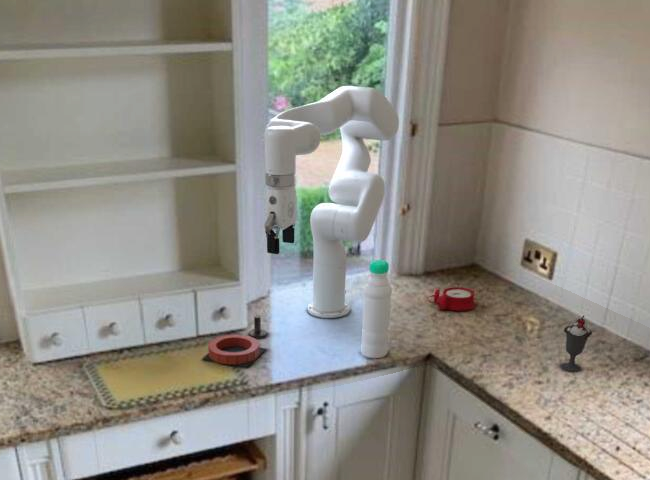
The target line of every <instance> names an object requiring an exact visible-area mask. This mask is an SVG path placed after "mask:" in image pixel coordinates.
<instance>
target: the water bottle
mask: <svg viewBox="0 0 650 480" xmlns="http://www.w3.org/2000/svg"><path fill="white" fill-rule="evenodd" d="M389 266H390V265H389V263H388V262H387V261H386V260H378V259H377V260H372V261H371V262H370V263H369V273H370V277H369V278H368V279H367V282H366V284H365V286H364V288H363V295H364V296H363V304H362V330H361V346H360V353H361V354H362V355H363V356H364V357H366V358H369V359H380V358H383V357H386V356H387V354H388V351H389V350H388V349H389V342H388V340H389V336H390V334H389V327H390V319H391V305H392V304H391V302H392V301H391V300H392V299H391V295H392V290H393V289H392V287H391V286H392V285H391V284H390V282H389V281H390V280H389V279H388V277H387V275H388V273H389V268H390V267H389Z"/></svg>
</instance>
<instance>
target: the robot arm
mask: <svg viewBox="0 0 650 480" xmlns="http://www.w3.org/2000/svg"><path fill="white" fill-rule="evenodd" d="M399 126H400V119H399V115H398V111H397V110H396V109H395V107H394V106H393V105H392V103H391V102H390V101H389V99H388V98H387V97H386V95H385V94H384V93H382V91H380V90H379V89H377V88H376V87H369V86H368V87H367V86H355V85H343V86H340V87H338V88H337V89H335V90H334V91H332V92H331V93H329V94H327V95H326V96H324V97H323V98H321V99H320V100H319V101H316V102H312V103H311V102H310V103H307V104H304V105H301V106H296V107H293V108H289V109H286V110H284V111H282V112H280V113H279V114H277V115H275V116H274V117H273V118H272V119H270V120H269V121H268V123H267V125H266V126H265V129H264V133H263V139H264V173H265V174H264V175H265V176H264V177H265V179H264V181H265V182H264V183H265V188H266V200H265V223H264V229H265V231H264V232H265V238H266V253H267V254H271V255H279V254H280V238H279V235H280V230H281V231H282V232H281V233H282V235H281V236H282V239H281V241H282V243H286V244H294V243H295V227H296V221H297V220H298V199H297V189H296V186H297V184H296V179H297V178H296V177H297V175H296V173H297V172H296V170H297V168H296V165H297V162H296V160H297V159H296V158H297V156H306V155H310V154H313V153H314V152H315V151H317V149H318V148H319V146H320V144H321V139H322V137H321V136H326V135H327V136H328V135H330V134H333V133H335V132H336V131H337V130H340V131H339V132H340V137H341V145H342V152H341V157H340V158H339V161H338V164H337V166H336V169H335V171H334V174H333V175H332V178H331V180H330V183H329V187H328V198H329V199H330V200H331V201H332V202H333V203H332V202H322V203H319V204H317V205H315V207H313V209H312V210H311V213H310V216H309V217H310V219H309V221H310V223H309V224H310V230H311V235H312V245H313V251H312V252H313V253H312V254H313V255H312V256H313V260H312V302H310V303H309V304H308V305H307V313H309V314H310V315H311V316H314V317H317V318H322V319H337V318H341V317H344V316H347V315H348V314H349V313H350V311H351V310H350V308H351V307H350V305H349V304H348V303H346V294H347V290H346V278H347V276H346V273H347V250H346V247H345V243H344V242H348V243H354V244H360V243H363V242H365V241H366V240H367V239H368V237H369V235H370V233H371V231H372V229H373V227H374V224H375V222H376V219H377V217H378V215H379V212H380V210H381V207H382V204H383V201H384V198H385V193H386V185H385V184H386V183H385V180H384V178H383V177H382V176H381V175H379V174H377V173H374V172H368V171H369V168H370V165H371V162H372V159H371V155H370V152H369V151H370V150H369V149H368V147H367V145H366V143H365V141H364V139H366V140H376V141H390V140H391V139H393V138H394V137H395V136H396V135H397V133H398V131H399Z"/></svg>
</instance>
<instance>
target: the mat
mask: <svg viewBox="0 0 650 480" xmlns="http://www.w3.org/2000/svg"><path fill="white" fill-rule="evenodd" d="M247 349H248V348H245V347H240V346H231V347H225V348H222V349H220V350H221V351H225V352H241V351H245V350H247ZM259 349H260V352H259V356H258V357H257V358H256V359H254V360H253V361H250V362H248V363H243V364H227V365H228V366H233V367H239V368H245V369H248V368H249V367H250V366H251V365H252V364H253V363H255V362H256V361H257V360H258V359H259V358H260V357H261V356H262V355H263V354H264V353H265V352H267V348H264V347H259ZM202 361H207V362H212V363H218V364H220V363H219V362H216V361H214V360H212V359H211V358H210V357H209V353H207V354H206V355H205V356H204V357H202Z"/></svg>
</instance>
